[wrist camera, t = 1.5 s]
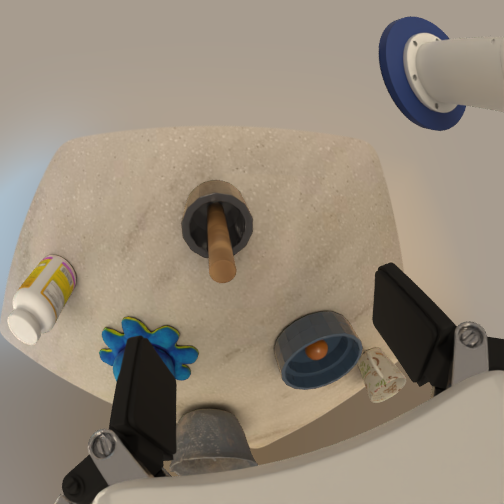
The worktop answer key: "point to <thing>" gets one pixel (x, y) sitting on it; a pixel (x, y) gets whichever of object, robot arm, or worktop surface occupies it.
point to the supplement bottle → (41, 299)
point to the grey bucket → (210, 444)
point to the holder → (234, 212)
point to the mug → (380, 375)
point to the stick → (219, 245)
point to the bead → (317, 350)
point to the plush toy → (159, 339)
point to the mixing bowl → (306, 333)
